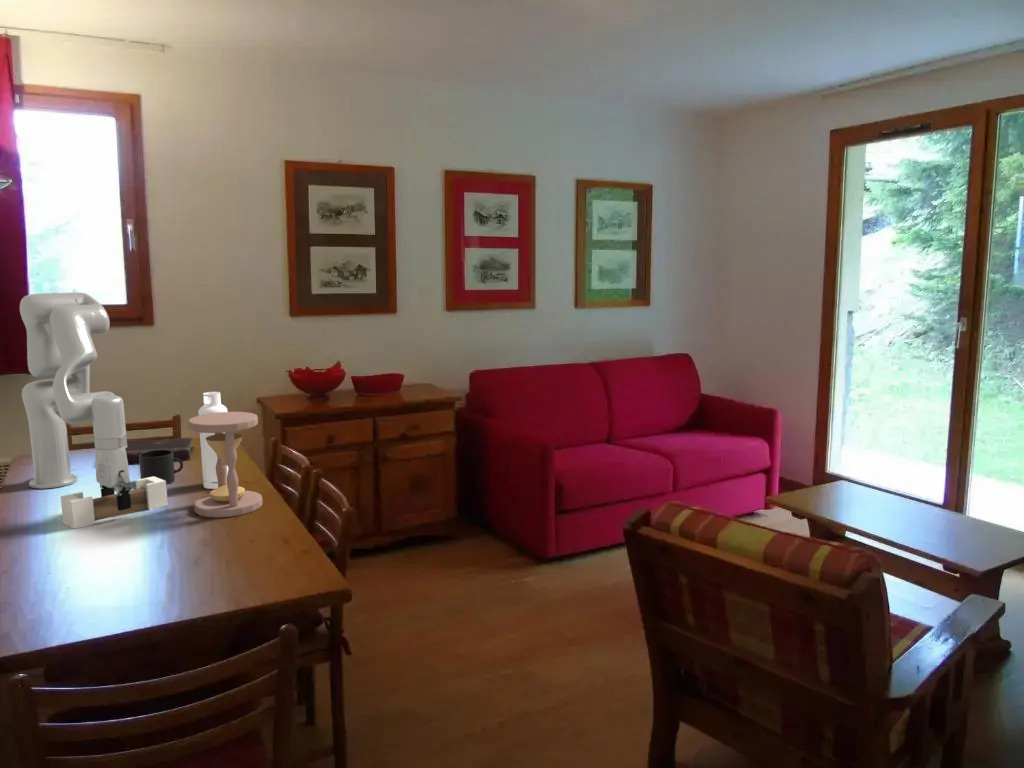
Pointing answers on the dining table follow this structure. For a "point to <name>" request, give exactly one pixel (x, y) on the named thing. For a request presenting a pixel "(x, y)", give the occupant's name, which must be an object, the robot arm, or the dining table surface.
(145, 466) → the mug
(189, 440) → the diary
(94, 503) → the rail
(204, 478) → the bottle
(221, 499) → the hourglass
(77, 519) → the white u-channel cradle
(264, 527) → the dining table surface
